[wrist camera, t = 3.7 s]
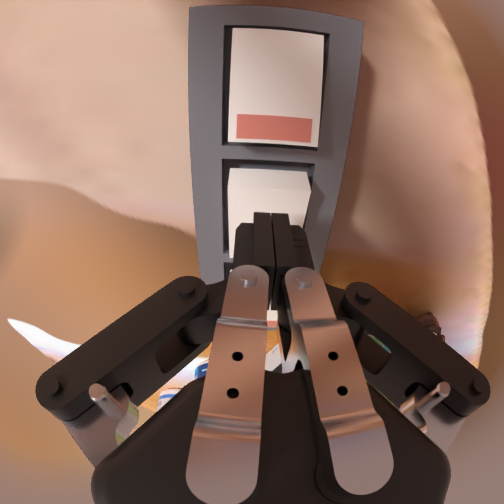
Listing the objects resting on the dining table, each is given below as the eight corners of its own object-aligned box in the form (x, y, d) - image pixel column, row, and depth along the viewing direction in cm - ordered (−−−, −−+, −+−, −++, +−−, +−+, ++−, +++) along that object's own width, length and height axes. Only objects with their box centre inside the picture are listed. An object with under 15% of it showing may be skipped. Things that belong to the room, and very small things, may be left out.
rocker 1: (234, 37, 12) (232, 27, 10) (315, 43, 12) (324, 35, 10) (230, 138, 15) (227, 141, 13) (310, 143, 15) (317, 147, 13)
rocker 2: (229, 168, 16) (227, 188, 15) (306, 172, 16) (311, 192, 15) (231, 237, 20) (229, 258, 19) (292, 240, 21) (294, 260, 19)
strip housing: (203, 17, 13) (189, 7, 10) (340, 27, 14) (363, 21, 10) (211, 292, 29) (206, 327, 26) (298, 295, 29) (303, 330, 26)
